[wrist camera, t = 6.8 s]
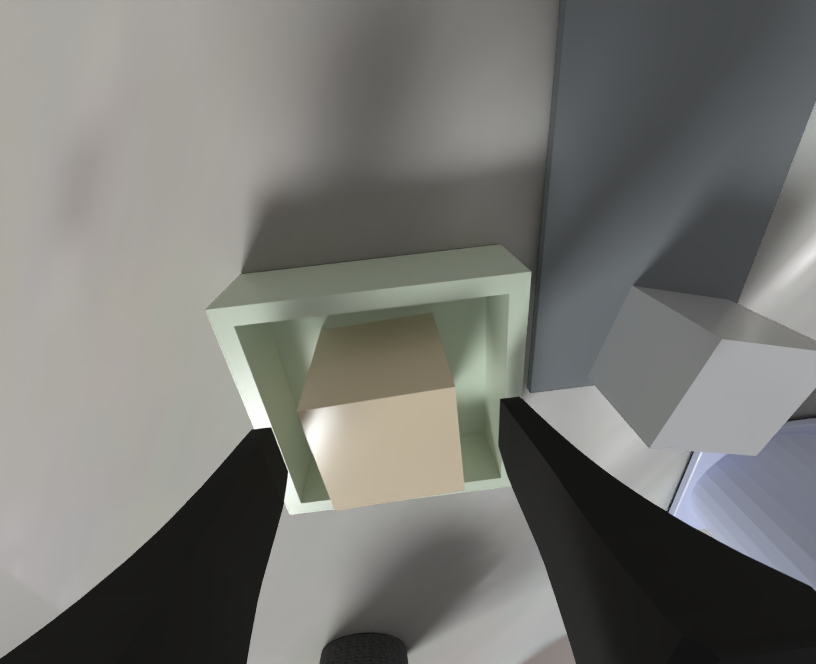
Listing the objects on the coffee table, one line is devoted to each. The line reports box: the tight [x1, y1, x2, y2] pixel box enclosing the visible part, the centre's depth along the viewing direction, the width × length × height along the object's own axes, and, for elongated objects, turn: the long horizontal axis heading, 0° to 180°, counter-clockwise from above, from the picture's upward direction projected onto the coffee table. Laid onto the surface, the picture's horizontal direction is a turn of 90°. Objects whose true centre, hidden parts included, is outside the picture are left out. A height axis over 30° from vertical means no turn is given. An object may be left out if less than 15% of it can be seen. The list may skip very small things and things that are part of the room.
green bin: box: [205, 244, 531, 515], centre depth 14 cm, size 9×9×3 cm
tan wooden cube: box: [297, 312, 465, 511], centre depth 12 cm, size 4×4×4 cm
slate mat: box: [527, 0, 816, 393], centre depth 12 cm, size 8×14×1 cm, turn 5°
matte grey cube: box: [587, 286, 816, 456], centre depth 13 cm, size 4×4×4 cm
